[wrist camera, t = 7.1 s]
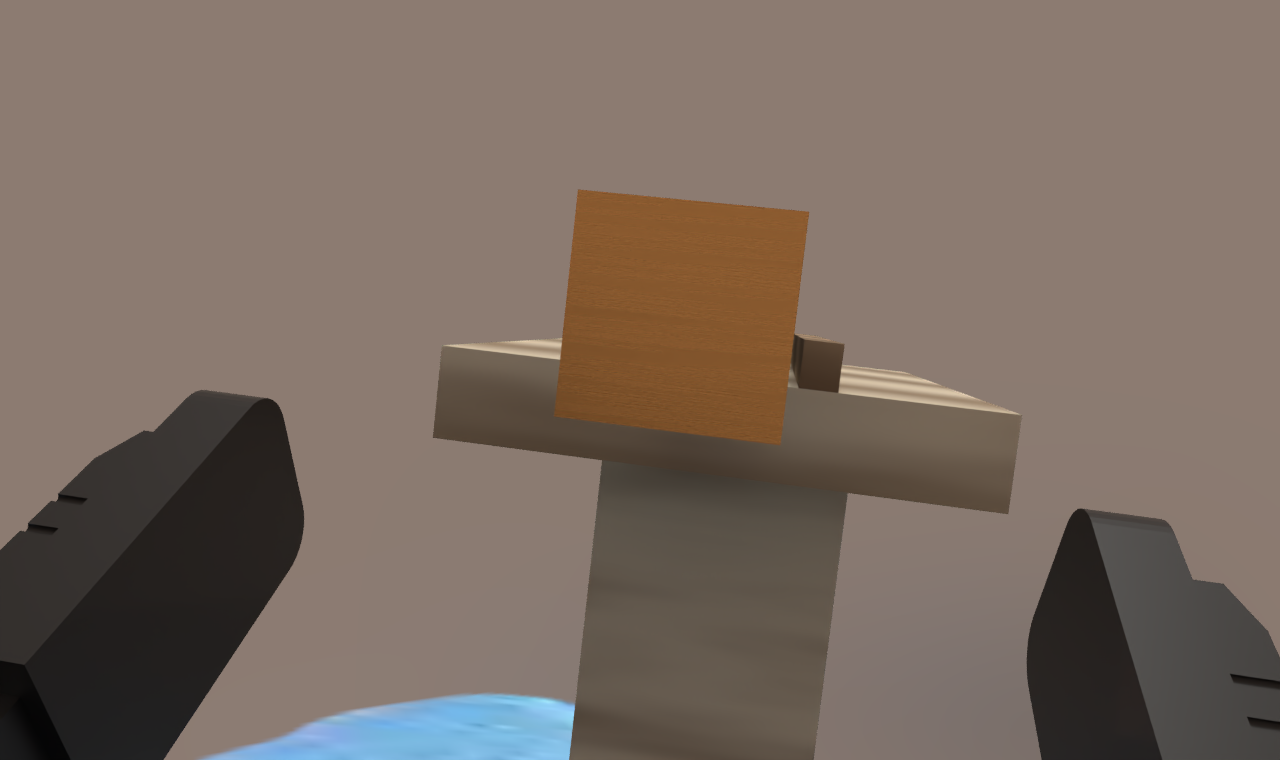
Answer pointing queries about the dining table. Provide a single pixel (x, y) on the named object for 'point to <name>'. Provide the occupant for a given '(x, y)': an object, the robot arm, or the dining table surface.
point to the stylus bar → (681, 315)
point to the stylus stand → (727, 537)
